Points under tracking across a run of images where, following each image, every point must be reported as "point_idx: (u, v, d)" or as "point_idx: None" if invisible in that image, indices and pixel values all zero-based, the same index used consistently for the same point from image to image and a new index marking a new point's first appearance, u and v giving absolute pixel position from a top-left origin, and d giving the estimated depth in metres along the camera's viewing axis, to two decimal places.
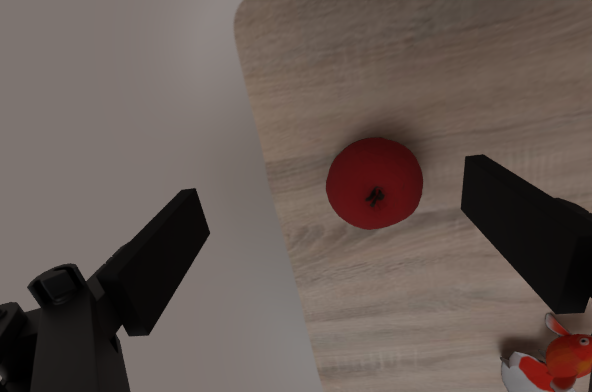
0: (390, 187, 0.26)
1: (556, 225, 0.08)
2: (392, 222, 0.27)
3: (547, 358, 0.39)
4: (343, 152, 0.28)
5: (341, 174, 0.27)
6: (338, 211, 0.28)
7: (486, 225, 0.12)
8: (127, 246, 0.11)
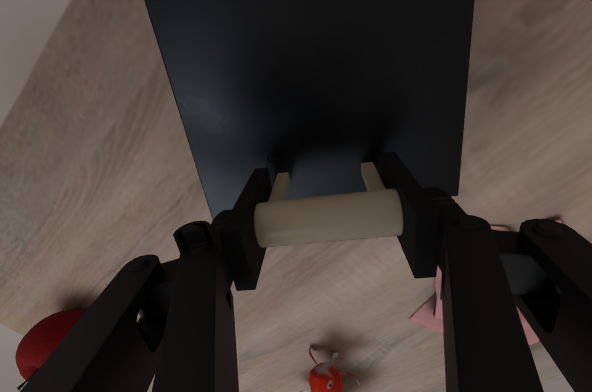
0: (34, 365, 0.36)
1: (410, 206, 0.10)
2: None
3: None
4: None
5: None
6: None
7: None
8: (233, 211, 0.12)
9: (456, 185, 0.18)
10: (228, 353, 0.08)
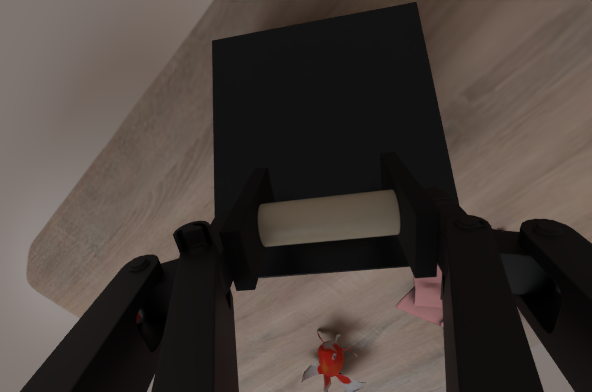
0: None
1: (410, 206, 0.10)
2: None
3: None
4: None
5: None
6: None
7: None
8: (233, 211, 0.12)
9: None
10: (228, 353, 0.08)
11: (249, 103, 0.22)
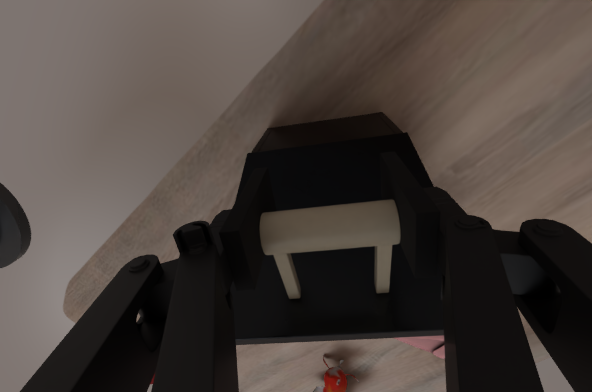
0: None
1: (410, 206, 0.10)
2: None
3: None
4: None
5: None
6: None
7: None
8: (233, 211, 0.12)
9: None
10: (228, 353, 0.08)
11: None
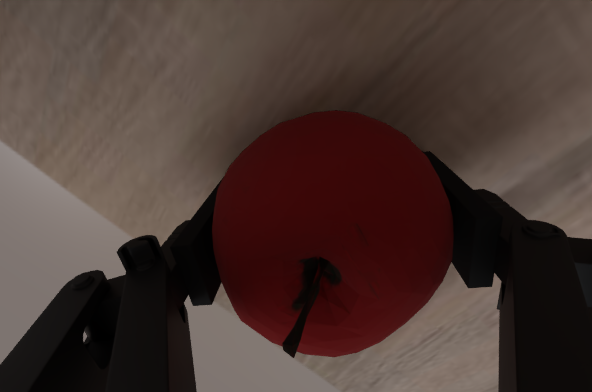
0: (330, 251, 0.08)
1: (465, 210, 0.10)
2: (406, 320, 0.09)
3: None
4: None
5: (217, 266, 0.10)
6: None
7: None
8: (190, 223, 0.12)
9: None
10: (184, 367, 0.08)
11: None
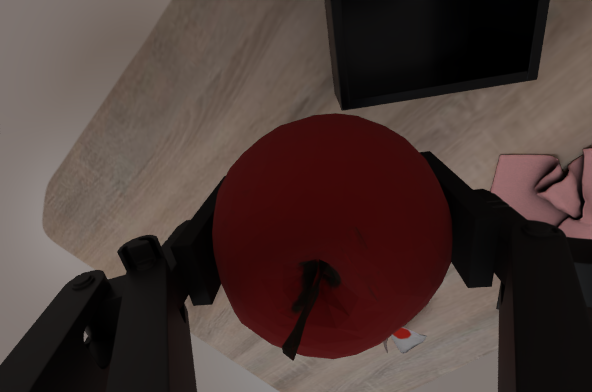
0: (329, 254, 0.08)
1: (464, 210, 0.10)
2: (405, 322, 0.09)
3: None
4: None
5: (217, 268, 0.11)
6: None
7: None
8: (190, 223, 0.12)
9: None
10: (184, 367, 0.08)
11: None
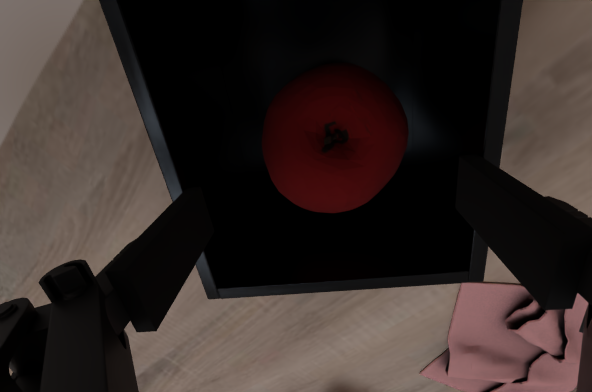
0: (342, 108, 0.15)
1: (544, 223, 0.08)
2: (388, 160, 0.16)
3: None
4: (263, 126, 0.19)
5: (270, 145, 0.17)
6: (305, 201, 0.17)
7: (479, 223, 0.12)
8: (135, 243, 0.11)
9: None
10: None
11: None
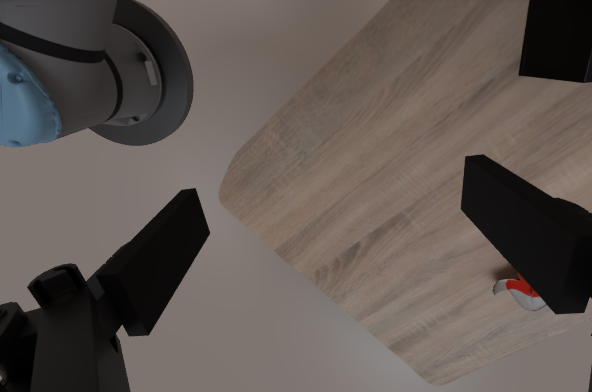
0: None
1: (556, 225, 0.08)
2: None
3: (518, 276, 0.53)
4: None
5: None
6: None
7: (486, 225, 0.12)
8: (127, 246, 0.11)
9: None
10: None
11: None
